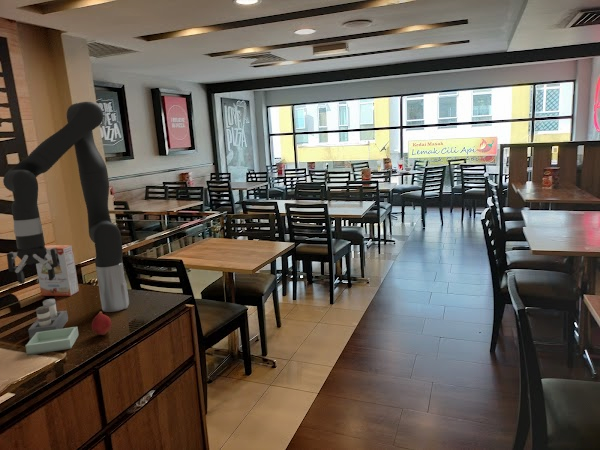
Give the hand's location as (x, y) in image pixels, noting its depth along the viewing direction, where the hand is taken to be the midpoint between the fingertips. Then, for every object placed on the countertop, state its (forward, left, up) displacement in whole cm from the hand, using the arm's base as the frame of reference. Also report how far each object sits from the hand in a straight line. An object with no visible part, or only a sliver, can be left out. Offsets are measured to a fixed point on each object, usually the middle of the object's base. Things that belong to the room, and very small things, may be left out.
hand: (37, 281), depth 142 cm
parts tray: (-5, +11, -18) cm, 22 cm away
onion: (-19, +9, -18) cm, 28 cm away
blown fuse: (0, 0, -18) cm, 18 cm away
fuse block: (0, -3, -18) cm, 18 cm away
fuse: (0, -7, -18) cm, 19 cm away
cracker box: (+7, -43, -18) cm, 48 cm away
